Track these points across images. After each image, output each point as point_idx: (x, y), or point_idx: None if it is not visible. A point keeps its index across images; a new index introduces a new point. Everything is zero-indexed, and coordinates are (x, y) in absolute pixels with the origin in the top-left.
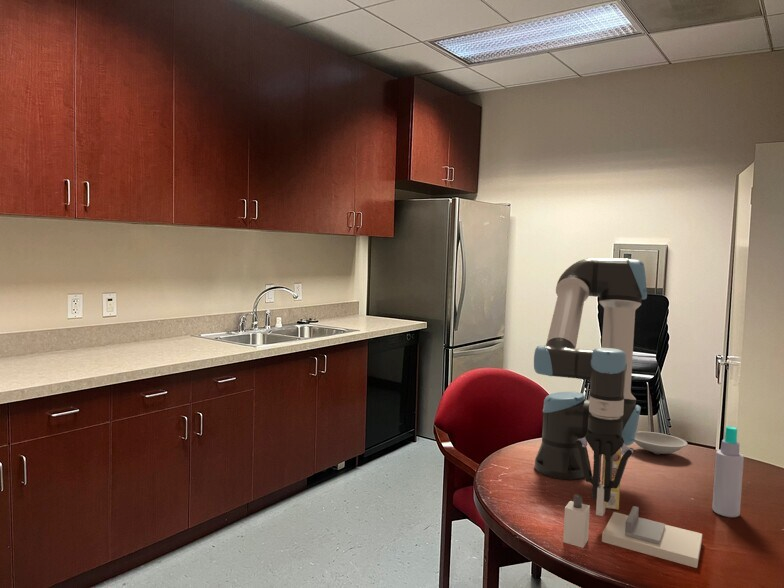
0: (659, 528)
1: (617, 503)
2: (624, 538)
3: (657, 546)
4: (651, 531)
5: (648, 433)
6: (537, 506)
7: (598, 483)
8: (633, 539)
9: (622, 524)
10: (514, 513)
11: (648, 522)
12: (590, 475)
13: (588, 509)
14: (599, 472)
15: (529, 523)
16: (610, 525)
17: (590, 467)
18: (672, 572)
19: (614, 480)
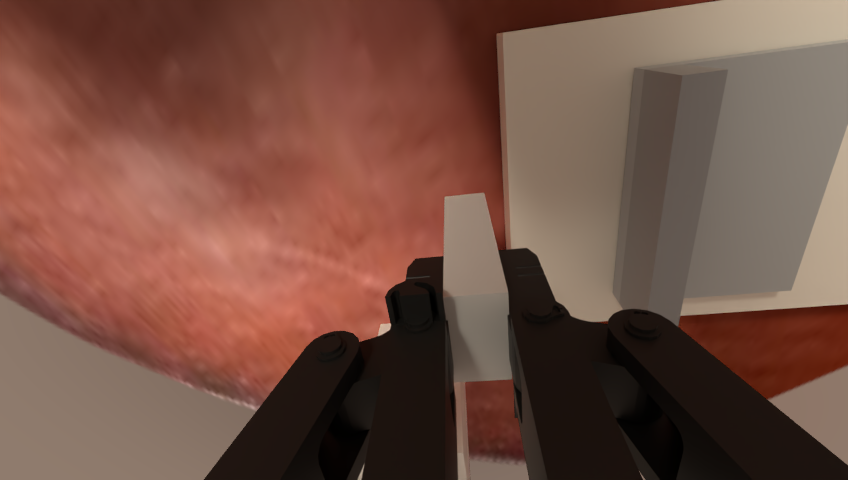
0: (817, 144)
1: None
2: (612, 314)
3: (764, 297)
4: (758, 215)
5: None
6: (126, 171)
7: (452, 379)
8: None
9: (583, 184)
10: (130, 300)
11: (751, 104)
12: (346, 395)
13: (465, 460)
14: (453, 477)
15: (228, 335)
16: (528, 235)
17: (299, 456)
18: (784, 351)
19: (646, 471)
